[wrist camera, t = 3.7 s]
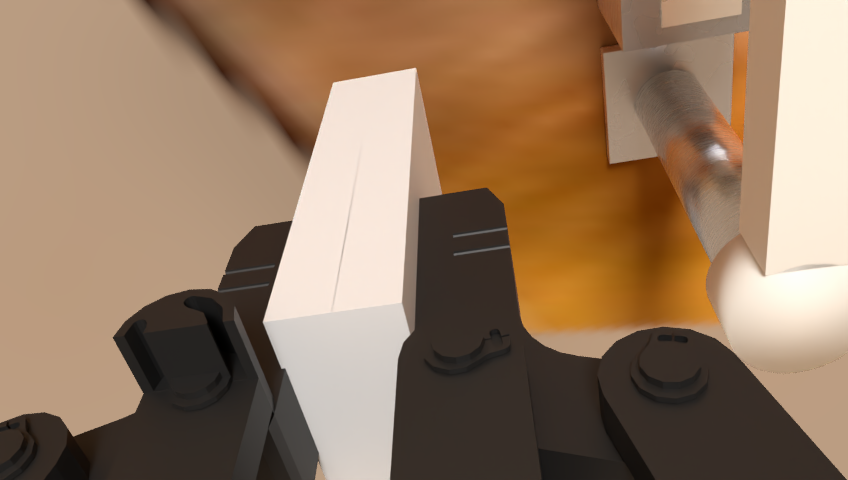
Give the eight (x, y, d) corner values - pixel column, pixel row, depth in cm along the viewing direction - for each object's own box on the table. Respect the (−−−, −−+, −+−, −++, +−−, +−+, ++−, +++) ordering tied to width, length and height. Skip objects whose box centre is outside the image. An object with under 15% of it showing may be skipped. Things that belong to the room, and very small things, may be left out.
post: (600, 47, 36) (678, 206, 24) (728, 25, 36) (875, 177, 24) (607, 156, 40) (678, 344, 28) (725, 138, 39) (851, 322, 27)
